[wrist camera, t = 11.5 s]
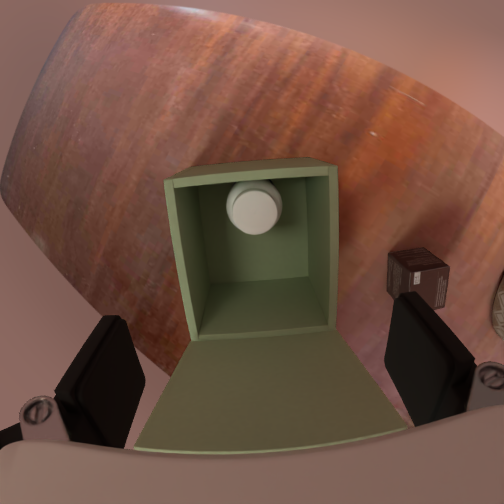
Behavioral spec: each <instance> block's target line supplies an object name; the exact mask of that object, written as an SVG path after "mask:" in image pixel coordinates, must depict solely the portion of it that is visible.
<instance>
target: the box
mask: <svg viewBox="0 0 504 504" xmlns="http://www.w3.org/2000/svg"><path fill="white" fill-rule="evenodd" d="M449 271H450V266H448V265H447V264H445V263H444V262H443V261H442V260H440V259H439V258H438V257H436V256H435V255H434V254H432V253H431V252H430V251H428V250H427V249H425V248H423V247H422V248H416V249H410V250H403V251H396V252H390V253H388V272H387V292H388V293H389V294H390V295H391V297H392V298H393V299H394V300H395V298H398V296H399V294H400V293H404V292H411V291H416V292H417V293H418V294H419V295H420V296H421V297H422V298H423V299H424V300H425V302H426V303H427V304H428V305H429V306H430V307H431V308H432V309H433V310H436V309H440V308H444V306H445V300H446V293H447V286H448V279H449Z"/></svg>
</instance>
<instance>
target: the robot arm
mask: <svg viewBox="0 0 504 504" xmlns="http://www.w3.org/2000/svg"><path fill="white" fill-rule="evenodd" d="M474 360H475V358H474V357H473V355H472V354H471V353H470V352H469V351H468V349H467V348H466V347H465V346H464V345H463V343H462V342H461V341H460V340H459V339H458V338H457V336H456V335H455V334H454V333H453V332H452V331H451V329H450V328H449V327H448V326H447V325H446V324H445V323H444V321H443V320H442V319H441V318H440V317H439V316H438V315H437V314H436V313H435V311H434V310H433V309H432V308H431V307H430V306H429V305H428V304H427V303H426V302H425V300H424V299H423V298H422V297H421V296H420V295H419V294H418V293H417V292H416V291H411V292H404V293H400V294H399V296H398V298H395V300H394V305H393V312H392V318H391V324H390V330H389V336H388V342H387V347H386V352H385V358H384V362H385V367H386V369H387V371H388V373H389V375H390V377H391V379H392V380H393V382H394V384H395V386H396V388H397V390H398V392H399V394H400V396H401V398H402V400H403V403H404V405H405V407H406V409H407V411H408V413H409V415H410V417H411V419H412V421H413V423H414V425H415V427H413V428H410V429H406V430H402V431H398V432H394V433H390V434H386V435H382V436H377V437H373V438H368V439H363V440H358V441H353V442H348V443H342V444H336V445H329V446H323V447H316V448H308V449H300V450H291V451H280V452H267V453H250V454H179V453H162V452H150V451H139V450H130V449H124V447H125V443H126V440H127V437H128V434H129V431H130V428H131V425H132V422H133V419H134V416H135V413H136V410H137V407H138V404H139V401H140V398H141V395H142V393H143V390H144V387H145V376H144V373H143V370H142V367H141V365H140V362H139V359H138V356H137V353H136V351H135V348H134V345H133V342H132V339H131V336H130V332H129V329H128V326H127V323H126V321H125V320H124V319H121V317H120V316H119V315H105V316H103V317H102V318H101V320H100V321H99V323H98V324H97V326H96V327H95V329H94V330H93V331H92V333H91V334H90V336H89V337H88V339H87V340H86V342H85V343H84V345H83V346H82V348H81V349H80V351H79V353H78V354H77V355H76V357H75V359H74V360H73V362H72V363H71V365H70V366H69V368H68V370H67V371H66V373H65V374H64V376H63V377H62V379H61V381H60V382H59V384H58V385H57V387H56V389H55V390H54V391H55V393H56V395H55V397H54V399H53V398H51V397H48V396H38V397H34V398H32V399H30V400H29V401H27V403H25V404H24V406H23V407H22V408H21V410H20V413H19V420H20V422H19V423H17V424H15V425H13V426H11V427H8V428H6V429H4V430H1V431H0V504H504V365H502V364H500V363H497V362H491V361H489V362H484V363H481V364H479V365H478V366H477V365H476V364H475V363H474Z"/></svg>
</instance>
